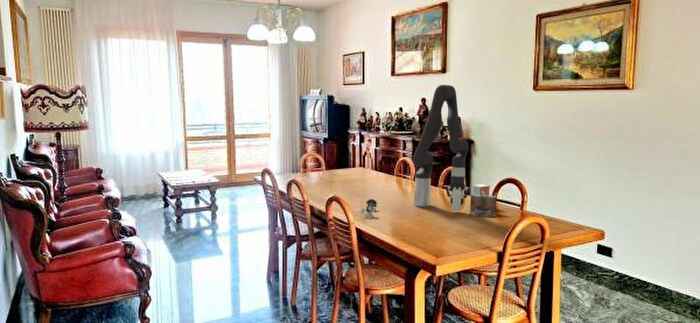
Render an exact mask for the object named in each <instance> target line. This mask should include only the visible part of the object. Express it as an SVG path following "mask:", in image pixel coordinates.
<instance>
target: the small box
mask: <svg viewBox="0 0 700 323" xmlns="http://www.w3.org/2000/svg"><path fill="white" fill-rule="evenodd" d="M471 195H484V196H490V185H487V184H482V183H481V184H474V185H472V193H471Z"/></svg>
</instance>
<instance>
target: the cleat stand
mask: <svg viewBox="0 0 700 323" xmlns="http://www.w3.org/2000/svg"><path fill="white" fill-rule="evenodd" d="M469 207H470V210H469V214H468V216H469V217H479V218H496V217H497V195H489V196H484V195H472V194H471V195H470V206H469Z"/></svg>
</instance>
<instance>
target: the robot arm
mask: <svg viewBox="0 0 700 323" xmlns="http://www.w3.org/2000/svg"><path fill="white" fill-rule="evenodd" d="M435 88H436V89H435V90H434V93H433V97H432V102H431V106H430V110H429V113H428V115H427V119H426V122H425V125H424V127H423V131H422V134H421V137H420V140H419V143H418V145H417V147H416V148H415V152H414V154H413V157H412V162H413V164H414V166H415V167H417V168H419V169H418V170H417V171H415V175H414V176H415V178H414V179H415V181H414V183H415V185H414V190H413V191H414V192H413V193H414V194H413V196H414V198H413V199H414V200H413V201H414V203H413V206H416V207H423V208H424V207H430V206H431V181H432V180H431V175H432V173H433V161H434V157H433V155H432V153H431V152H430V151H429V148H430V147H431V146H432V144H433V143H434V142H435V140H436V139H437V138H438V137H439V134H440V133H441V129H442V126H443V119H442V118H443V116H442V109H443V106H444V103H445V102H446V104H447V105H446V106H447V118H446V126H447V129H448V134H449V149H450V151H452V152H453V153H456V155H455V156H453V157H452V160H451V164H452V165H451V172H450V174H451V175H450V185H446V186H445V192H446V195H447V197H449V198H450V204H452V202H453V189H461V206H462V205H464V201H465V200H464V199H466V198H467V197H468V194H469V192H470V189H471V188H470V187H469V186H466V184H465V182H466V181H465V180H466V179H465V178H466V168H465V167H466V166H465V165H466V158H467V155H468V152H469V142H468V141H467V140H466V139H460V138H459V137H460V136H461V135H462V134H463V130H462V126H461V122H460V118H459V111H458V102H457V92H456V88H455V87H454V86H453V85H448V84H439V85H438V86H437V87H435ZM450 190H452V192H451V193H450ZM464 190H465V194H464V192H463V191H464Z"/></svg>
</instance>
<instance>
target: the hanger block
mask: <svg viewBox="0 0 700 323" xmlns="http://www.w3.org/2000/svg"><path fill="white" fill-rule="evenodd" d="M452 192H453V202H452V203H451V205H452V206H451V210H452V211H458V212H459V211H460V212H461V209H462V205H461V189H453V191H452Z"/></svg>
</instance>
